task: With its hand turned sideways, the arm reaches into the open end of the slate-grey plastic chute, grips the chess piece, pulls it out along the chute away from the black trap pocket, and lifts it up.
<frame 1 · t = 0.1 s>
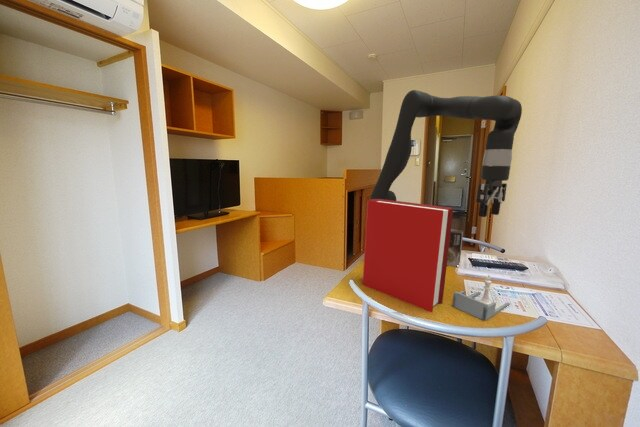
hand: (488, 215, 88), 29 cm above the table, tool pointing down, fingers open, 8 cm apart
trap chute: (481, 305, 88), on the table
book: (398, 293, 96), on the table
coffee box: (448, 264, 127), on the table
chess piece: (484, 304, 90), resting in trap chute
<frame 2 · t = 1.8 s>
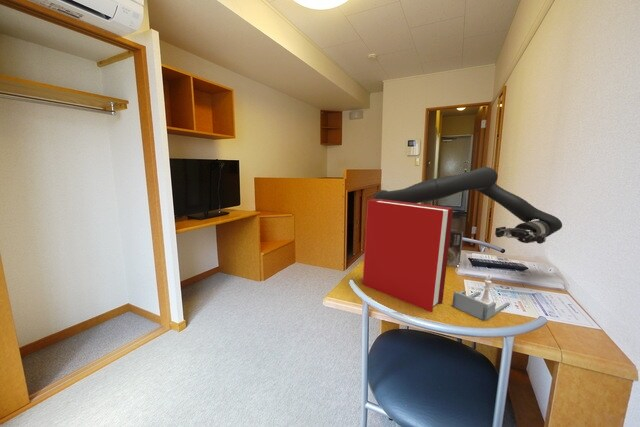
hand: (511, 237, 93), 21 cm above the table, tool horizontal, fingers open, 8 cm apart
nothing on the table moved.
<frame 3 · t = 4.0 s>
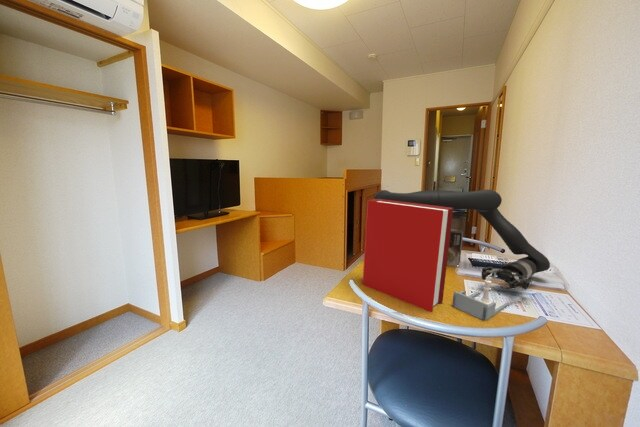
hand: (496, 281, 93), 6 cm above the table, tool horizontal, fingers open, 8 cm apart
nothing on the table moved.
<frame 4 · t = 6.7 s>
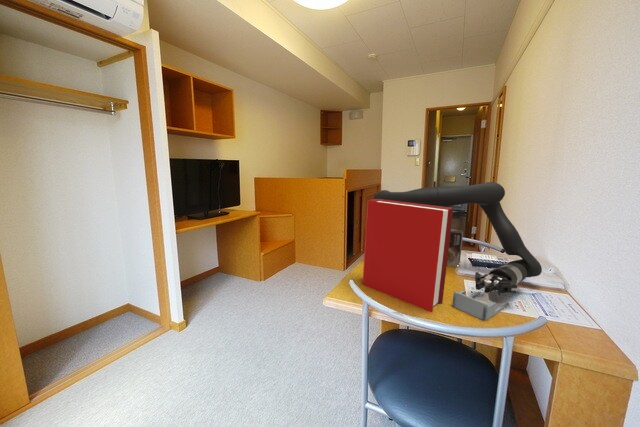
hand: (481, 288, 86), 7 cm above the table, tool horizontal, fingers closed on chess piece
chess piece: (484, 304, 90), resting in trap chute, touching gripper
everything else where it was.
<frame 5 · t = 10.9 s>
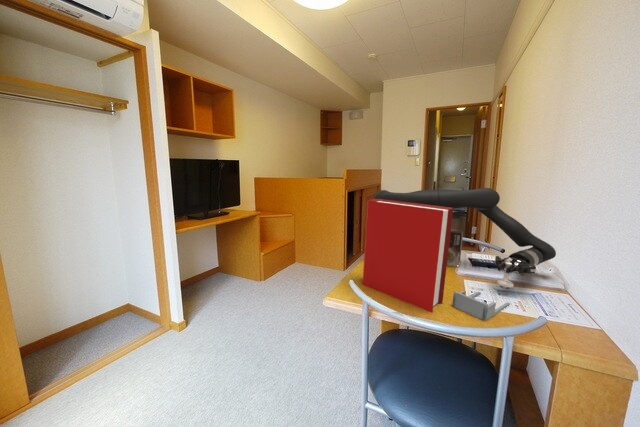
hand: (503, 269, 94), 10 cm above the table, tool horizontal, fingers closed on chess piece
chess piece: (505, 284, 98), point 3 cm above the table, touching gripper
everything else where it was.
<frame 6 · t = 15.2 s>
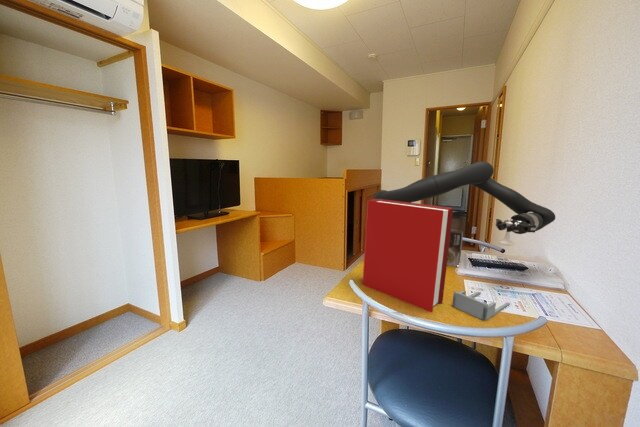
hand: (504, 228, 96), 24 cm above the table, tool horizontal, fingers closed on chess piece
chess piece: (505, 244, 99), point 17 cm above the table, touching gripper
everything else where it was.
at the end: chess piece point 16.9 cm above the table; chess piece inside the target area (3.0 cm from its centre), point 16.9 cm above the table; chess piece tilted 1° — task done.
